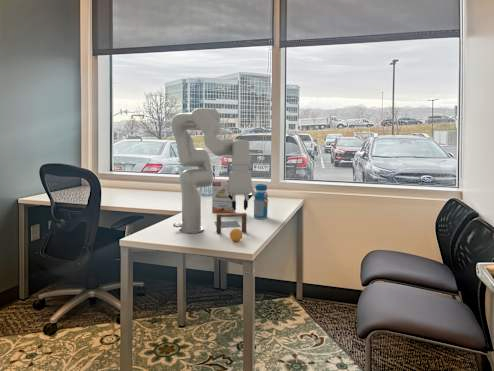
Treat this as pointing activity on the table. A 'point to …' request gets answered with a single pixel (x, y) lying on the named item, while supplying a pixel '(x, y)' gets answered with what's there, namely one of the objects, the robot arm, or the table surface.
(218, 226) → the bridge
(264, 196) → the beverage bottle
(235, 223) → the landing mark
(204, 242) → the table surface
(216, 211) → the cracker box
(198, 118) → the robot arm
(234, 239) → the ball
